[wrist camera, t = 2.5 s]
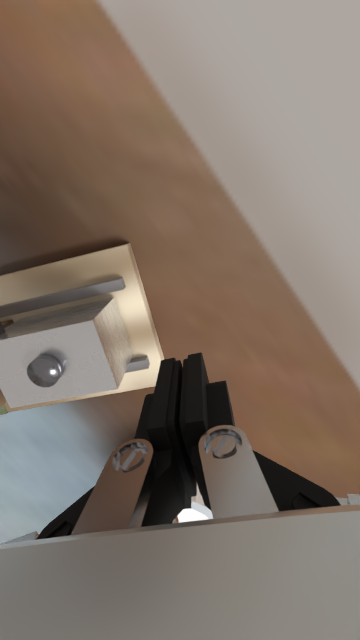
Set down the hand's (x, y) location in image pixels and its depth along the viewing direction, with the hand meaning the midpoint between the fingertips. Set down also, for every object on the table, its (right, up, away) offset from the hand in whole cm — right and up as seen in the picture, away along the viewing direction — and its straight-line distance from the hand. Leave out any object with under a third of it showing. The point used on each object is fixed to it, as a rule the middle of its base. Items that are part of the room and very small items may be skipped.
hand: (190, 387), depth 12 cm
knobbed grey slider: (-9, +2, +11) cm, 15 cm away
